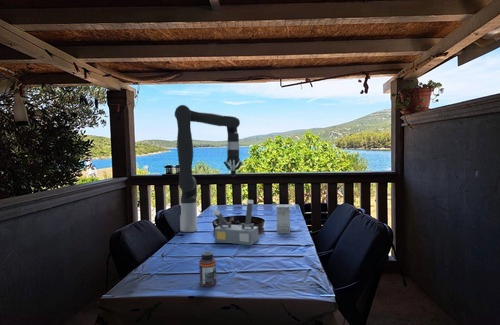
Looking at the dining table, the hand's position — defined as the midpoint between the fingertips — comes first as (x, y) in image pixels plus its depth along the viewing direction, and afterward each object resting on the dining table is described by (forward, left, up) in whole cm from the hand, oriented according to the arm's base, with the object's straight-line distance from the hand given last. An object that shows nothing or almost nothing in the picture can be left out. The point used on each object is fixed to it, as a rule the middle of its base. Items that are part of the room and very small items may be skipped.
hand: (233, 176), depth 199 cm
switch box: (+15, -29, -32) cm, 45 cm away
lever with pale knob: (+8, -29, -23) cm, 38 cm away
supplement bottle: (+27, -82, -32) cm, 92 cm away
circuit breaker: (+32, 0, -32) cm, 45 cm away
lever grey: (+21, -29, -23) cm, 43 cm away
